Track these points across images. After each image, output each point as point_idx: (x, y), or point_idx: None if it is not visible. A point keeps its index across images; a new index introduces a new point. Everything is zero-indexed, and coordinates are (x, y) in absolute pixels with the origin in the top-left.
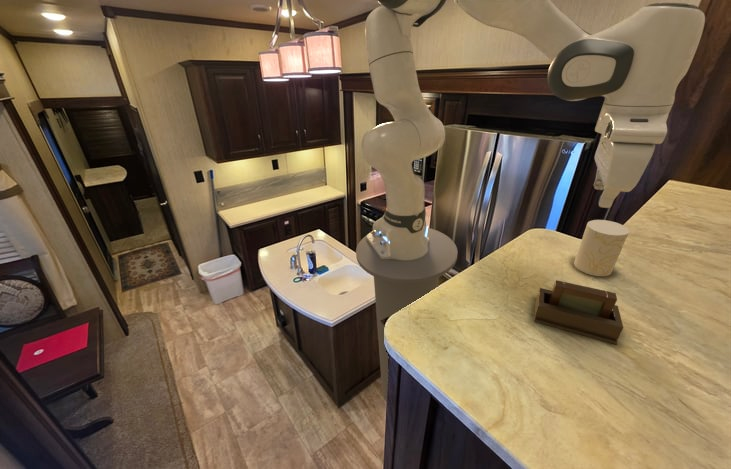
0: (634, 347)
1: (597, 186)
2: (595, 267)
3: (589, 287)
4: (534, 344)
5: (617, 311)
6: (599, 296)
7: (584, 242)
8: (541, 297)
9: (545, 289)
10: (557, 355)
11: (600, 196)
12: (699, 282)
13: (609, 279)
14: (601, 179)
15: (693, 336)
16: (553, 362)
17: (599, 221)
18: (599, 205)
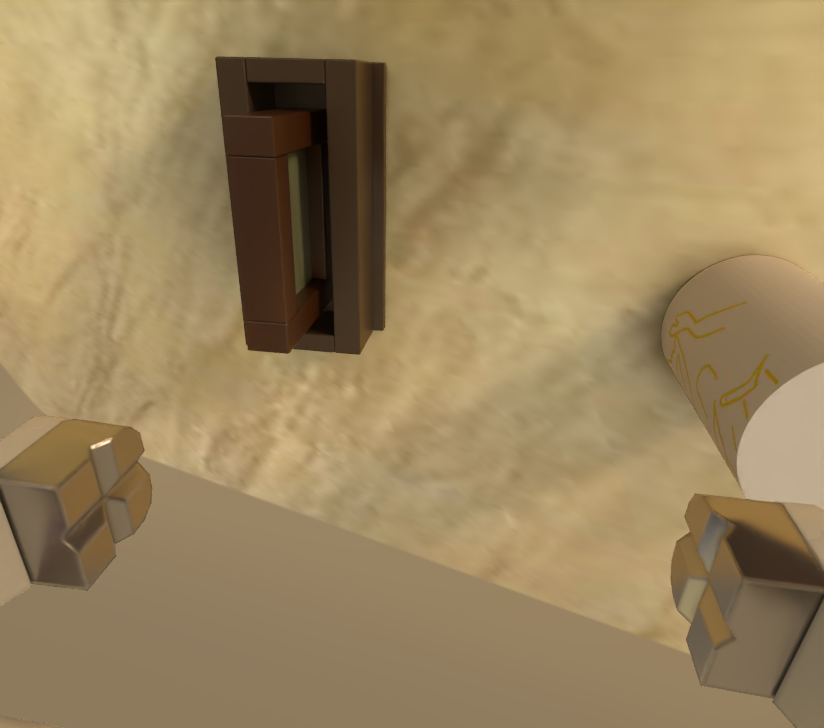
0: (277, 360)
1: (698, 538)
2: (675, 334)
3: (280, 265)
4: (122, 64)
5: (324, 346)
6: (242, 293)
7: (790, 311)
8: (279, 70)
9: (351, 90)
10: (119, 142)
11: (46, 476)
12: None
13: (645, 372)
14: (810, 657)
15: (397, 501)
16: (83, 128)
17: None
18: (34, 420)
